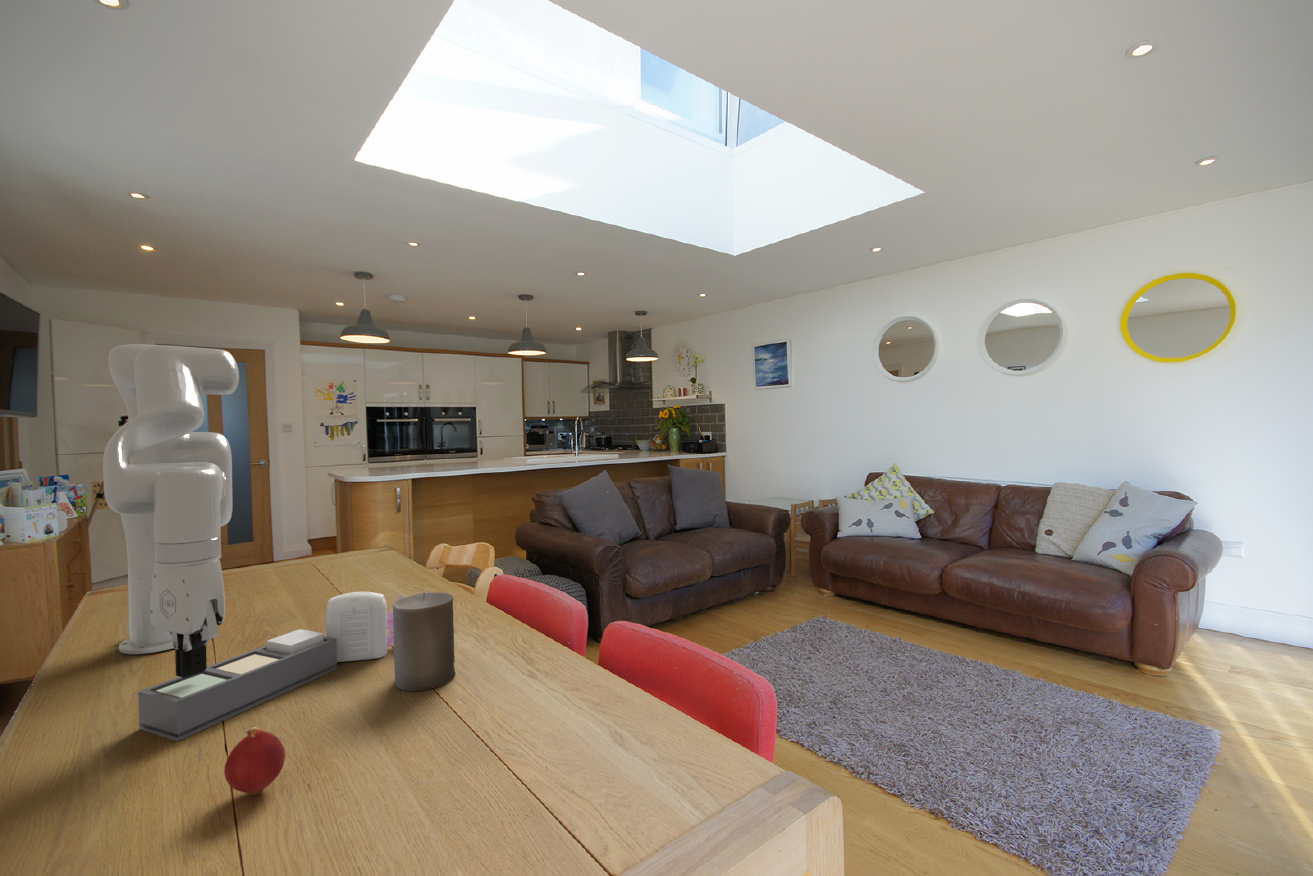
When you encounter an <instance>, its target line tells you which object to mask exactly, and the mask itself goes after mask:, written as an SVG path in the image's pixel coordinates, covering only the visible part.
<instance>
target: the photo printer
mask: <svg viewBox="0 0 1313 876" xmlns="http://www.w3.org/2000/svg"><path fill="white" fill-rule="evenodd" d="M387 607H388V606H387V601H386V596H385V594H383V593H379V592H372V591H352V592H348V593H347V592H346V593H343V594H338V595H336V596H334V597H331V598H329V599H328V601H327V606H326V610H325V637H329V638H334V639H336V646H337V663H341V662H352V661H354V662H355V661H361V660H362V661H364V660H373V659H382V658H383V656H384V657H386V655H387V653H388V652H387V651H388V648H387V635H388V631H387V612H388V611H387V609H388V608H387ZM381 657H382V658H381Z"/></svg>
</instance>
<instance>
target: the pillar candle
mask: <svg viewBox="0 0 1313 876" xmlns="http://www.w3.org/2000/svg"><path fill="white" fill-rule="evenodd" d="M392 611H393V620H394V644H393V659H394V683H395V686H396V689H397V688H398V689H399V690H401V691H405V692H416V691H417V692H419V691H425V690H430V689H433V688H438V687H441V686H444V685H446V684H447V683H449V682H451V681H452V680H453V679H454V678H455V675H456V670H455V661H456V660H455V659H456V657H455V656H456V655H455V631H454V630H455V628H454V627H455V626H454V596H453V594H450V593H447V592H439V591H437V592H436V591H434V592H431V591H430V593H424V592H421V593H416V594H411V595H408V596H403V598H401V599H400V600H397V599H396V601H394V602H393V603H392Z"/></svg>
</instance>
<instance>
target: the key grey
mask: <svg viewBox="0 0 1313 876" xmlns="http://www.w3.org/2000/svg"><path fill="white" fill-rule="evenodd" d="M324 635H325V634H324V633H323V632H318V631H311V630H309V629H307V630H306V629H301V628H300V629H296V630H292V631H291V632H287V633H286V634H282V635H279V636H276V637H274V638H270V639H268V640H266V645H267V650H269V651H274V652H279V653H284V654H289V655H292V654H294V653H297V652H299V651H302V650H304V649H307V648H310V647H312V646H315V645H317V644H320V643H322V642H324V637H325V636H324Z"/></svg>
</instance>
